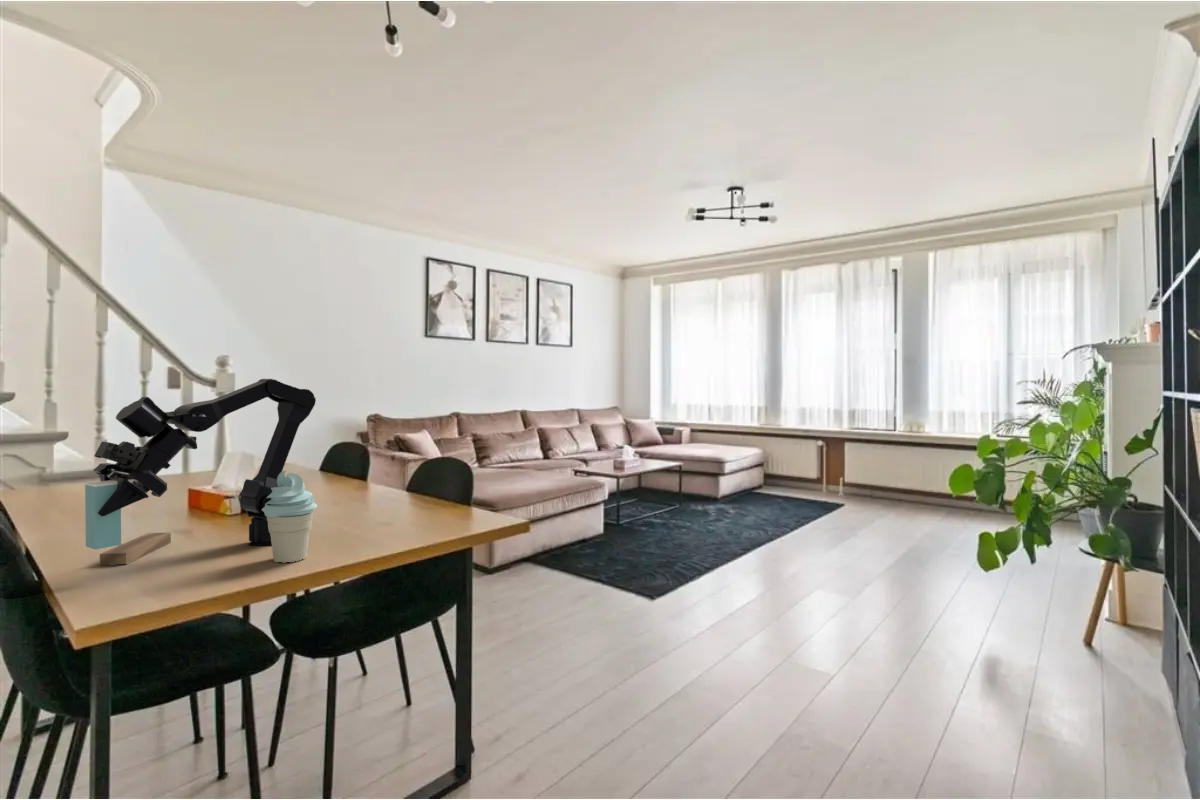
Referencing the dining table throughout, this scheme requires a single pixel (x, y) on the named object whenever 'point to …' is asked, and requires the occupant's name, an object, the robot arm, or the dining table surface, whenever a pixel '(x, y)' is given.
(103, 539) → the teal block
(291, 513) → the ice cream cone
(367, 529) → the dining table surface
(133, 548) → the walnut strip
